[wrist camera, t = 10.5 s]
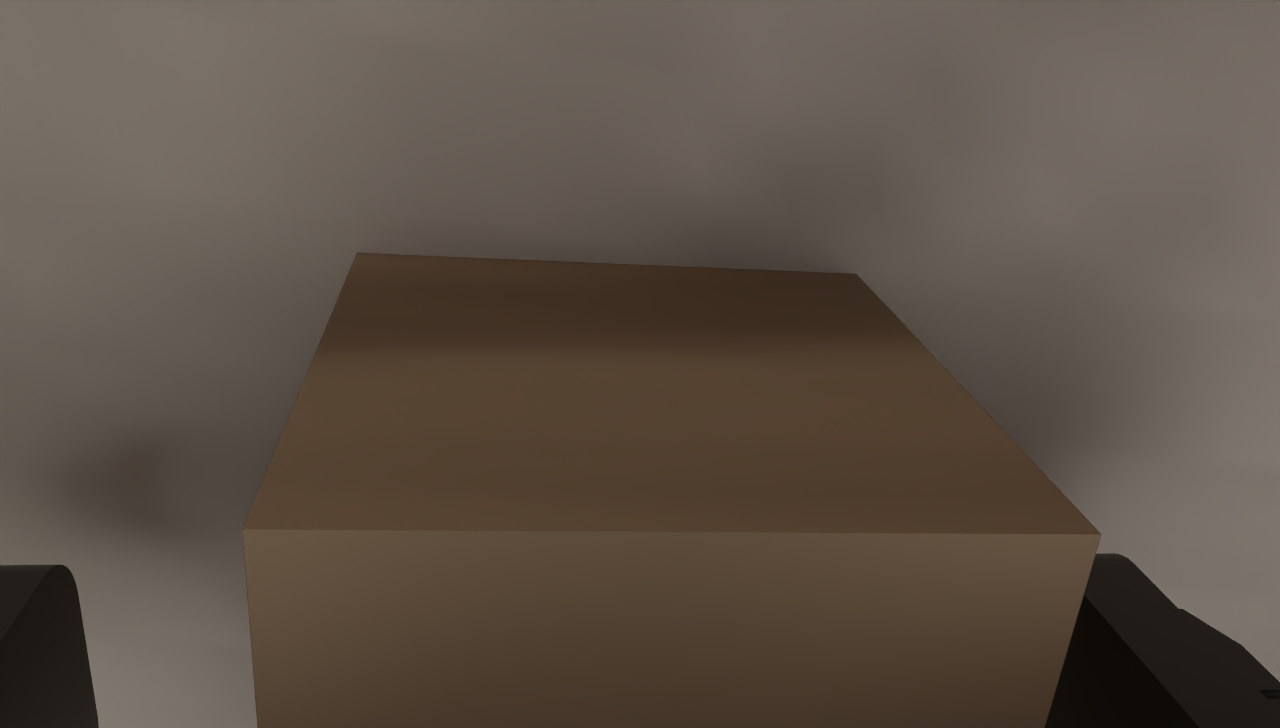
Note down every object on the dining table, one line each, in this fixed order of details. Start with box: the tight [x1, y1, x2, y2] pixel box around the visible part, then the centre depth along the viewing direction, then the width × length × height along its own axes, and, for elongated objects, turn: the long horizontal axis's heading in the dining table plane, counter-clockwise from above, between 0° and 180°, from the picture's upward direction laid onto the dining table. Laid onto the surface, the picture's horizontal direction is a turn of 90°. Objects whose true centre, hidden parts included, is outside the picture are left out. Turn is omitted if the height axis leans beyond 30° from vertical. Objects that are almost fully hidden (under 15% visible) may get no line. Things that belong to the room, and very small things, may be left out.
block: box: [242, 253, 1101, 728], centre depth 9 cm, size 5×5×5 cm
